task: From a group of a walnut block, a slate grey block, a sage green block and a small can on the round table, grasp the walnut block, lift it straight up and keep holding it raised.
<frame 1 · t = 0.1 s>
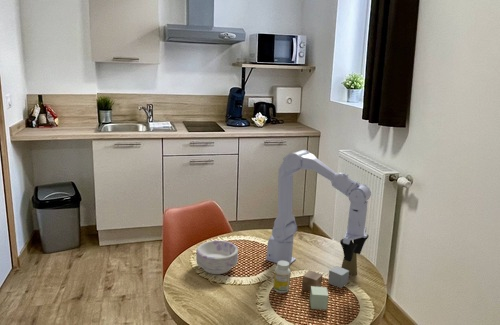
hand: (352, 256, 144), 10 cm above the table, tool pointing down, fingers open, 7 cm apart
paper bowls: (216, 268, 152), on the table
olive brown rounded piece: (348, 271, 155), on the table
supplement bottle: (281, 289, 140), on the table
walnut block: (311, 288, 141), on the table
slate grey block: (337, 283, 146), on the table
sage green block: (318, 304, 132), on the table
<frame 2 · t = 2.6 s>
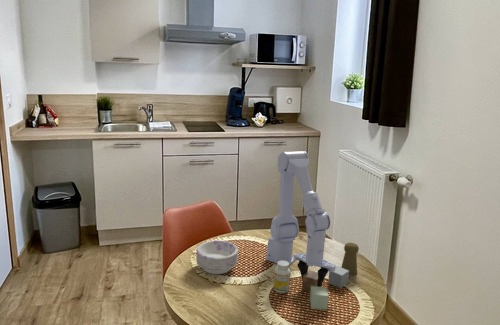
hand: (311, 284, 141), 1 cm above the table, tool pointing down, fingers closed on walnut block, 5 cm apart
walnut block: (311, 288, 141), on the table, touching gripper
everything else where it was.
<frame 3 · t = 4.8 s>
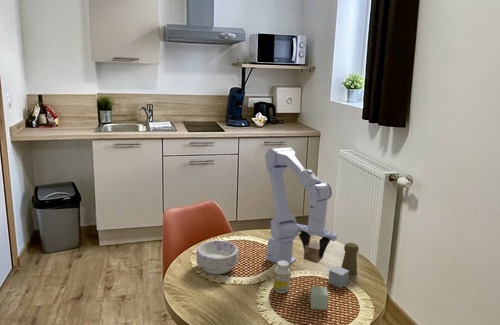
hand: (313, 254, 143), 10 cm above the table, tool pointing down, fingers closed on walnut block, 5 cm apart
walnut block: (313, 258, 143), point 9 cm above the table, touching gripper
everything else where it was.
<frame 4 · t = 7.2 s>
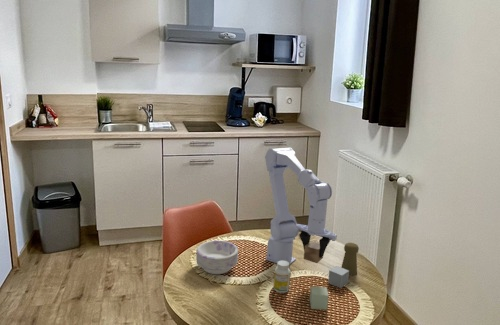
hand: (313, 254, 143), 10 cm above the table, tool pointing down, fingers closed on walnut block, 5 cm apart
walnut block: (313, 258, 143), point 9 cm above the table, touching gripper
everything else where it was.
at the end: the gripper is holding walnut block; walnut block point 8.9 cm above the table; supplement bottle moved 0.2 cm from its start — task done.
